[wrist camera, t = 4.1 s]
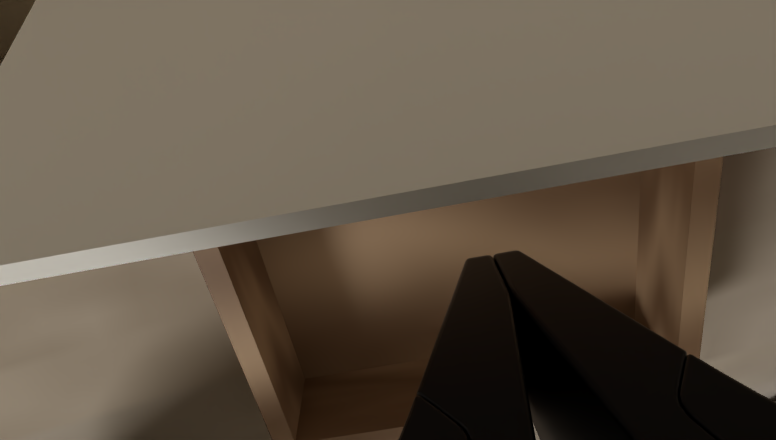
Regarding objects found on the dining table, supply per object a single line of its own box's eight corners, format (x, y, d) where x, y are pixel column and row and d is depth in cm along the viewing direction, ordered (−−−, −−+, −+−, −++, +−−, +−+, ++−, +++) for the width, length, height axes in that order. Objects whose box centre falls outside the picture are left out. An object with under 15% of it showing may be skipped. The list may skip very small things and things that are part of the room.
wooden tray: (646, 327, 24) (694, 397, 20) (293, 384, 25) (280, 460, 21) (673, -162, 15) (764, -191, 12) (135, -45, 16) (69, -40, 13)
